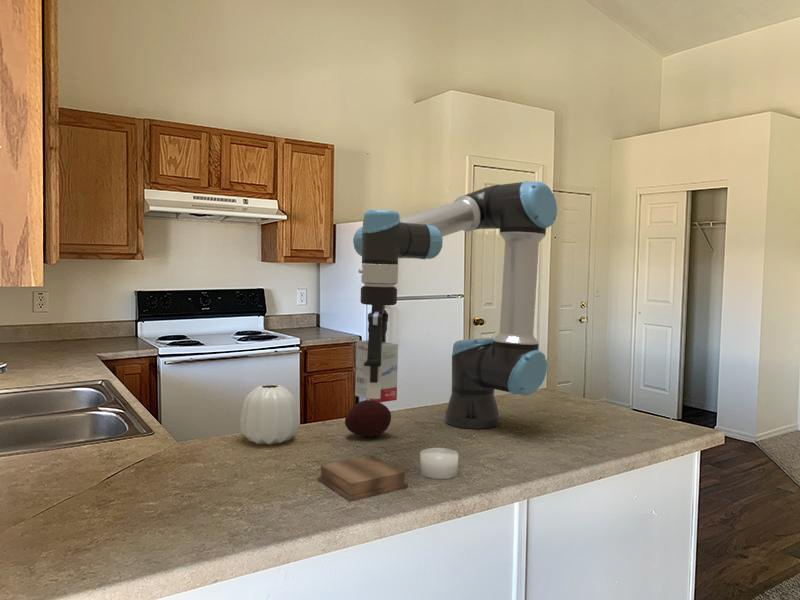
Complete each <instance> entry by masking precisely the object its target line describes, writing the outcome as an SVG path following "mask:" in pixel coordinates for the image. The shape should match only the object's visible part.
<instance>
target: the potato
mask: <svg viewBox="0 0 800 600" xmlns="http://www.w3.org/2000/svg"><path fill="white" fill-rule="evenodd" d="M344 420H345V421H344V425H345V427H346V428H347V430H348V431H349V432H351V433H352V434H353V435H356V436H358V437H361V438H362V437H363V438H372V437H376V436H379V435H381V434H383V433H384V432H386V431H387V429H388V428H389V426H390V425H391V423H392V422H391V421H392V414H391V410H390V409H389V408H388V407H387V406H386V405H385V404H383V402H380V403H379V402H376V401H372V400H369V399H365V400H362V401H359V402H358V403H355V404H354V405H353V406H352V407H351V408H350V410H349V411H347V414H346V416H345V419H344Z"/></svg>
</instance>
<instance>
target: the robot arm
mask: <svg viewBox="0 0 800 600" xmlns="http://www.w3.org/2000/svg"><path fill="white" fill-rule="evenodd" d="M557 204H558V203H557V201H556V197H555V194H554V193H553V191H552V189H551V188H550V187H549V186H548V185H547V184H546V183H545V182H542V181H528V180H527V181H526V180H525V181H521V182H512V183H503V184H494V185H488V186H487V187H484V188H481V189H480V188H479V189H477V190H475V191H472V192H469V193H467V194H464V195H460V196H458V197H456V199H455V200H454V201H453V202H451V203H446V204H444V205H440V206H437V207H433V208H429V209H427V210H423V211H420V212H419V211H418V212H417V213H413V214H410V215H406V216H404V217H400V213H399V212H398V211H396V210H392V209H369V210H366V211H365V212H364V214H363V219H362V226H361V227H359V228H358V229H357V230H356V232H355V233H354V235H353V239H352V243H353V249H354V250H355V252H356V253H357V254H358V255H359V256H360V257H361V268H358V273H359V274H361V275H360V276H361V277H360V278H361V281H360V282H361V283H362V284H363V286H361V287H360V303H361V304H362V305H368V306H369V305H370V306H371V312H369V313H367V322H368V327H367V332H368V333H367V334H368V339H367V341H368V355H367V362H364V366H368V371H367V398H370V399H380V397H381V366H380V365H381V346H382V342H386V343H387V338H386V337H387V331H388V321H389V313H387V310H386V306H395V305H396V304H398V303H397V301H398V289H397V287H396V285H397V284H398V283H399V282H398V279H399V259H415V260H416V259H419V260H431V259H435V258H436V257H437V256H438V255H440V252H441V250H442V248H443V243H444V242H443V239H444V238H443V237H446V236H449V235H452V234H455V233H458V232H461V231H464V232H473V231H476V230H484V229H485V230H489V229H490V230H491V229H494V230H498V229H499V236H501V237H502V239H503V240H504V254H503V270H502V272H503V273H502V286H501V299H500V301H501V302H500V303H501V304H500V305H501V306H500V319H499V322H500V323H499V332H498V334H497V336H495V337H494V338H492V337H484V338H483V337H482V338H470V339H469V338H468V339H460V340H456V341H455V342H454V343H453V346H452V353H451V393H450V394H451V395H450V397H449V401H448V404H447V406H446V407H447V408H446V410H445V411H444V423H446V424H448V425H451V426H453V427H457V428H463V429H474V430H475V429H476V430H477V429H478V430H479V429H490V428H494V427H497V426H499V425H500V424H501V420H500V419H501V416H500V414H501V413H500V412H499V409H498V405H497V402H496V397H495V390H497V391H502V392H507V393H510V394H512V395H522V396H528V395H532V394H534V393H535V392H536V391H538V390H539V388H540V387H541V386H542V384H543V382H544V381H545V379H546V376H547V372H548V360H547V358H546V356H545V354H544V353H543V352H542V351H541V350H539V345H540V342H539V341H538V340H537V338H535V336H534V329H535V328H534V327H535V314H536V313H535V312H536V310H535V309H536V294H537V282H538V281H537V279H538V263H539V248H540V247H539V246H540V242H541V241H542V240H543V239H544V238H545V237H546V235H547V234H546V233H547V229H548V228H550V227H551V226H552V225H554V223H555V221H556V219H557V215H558V205H557ZM376 358H377V359H376Z"/></svg>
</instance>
